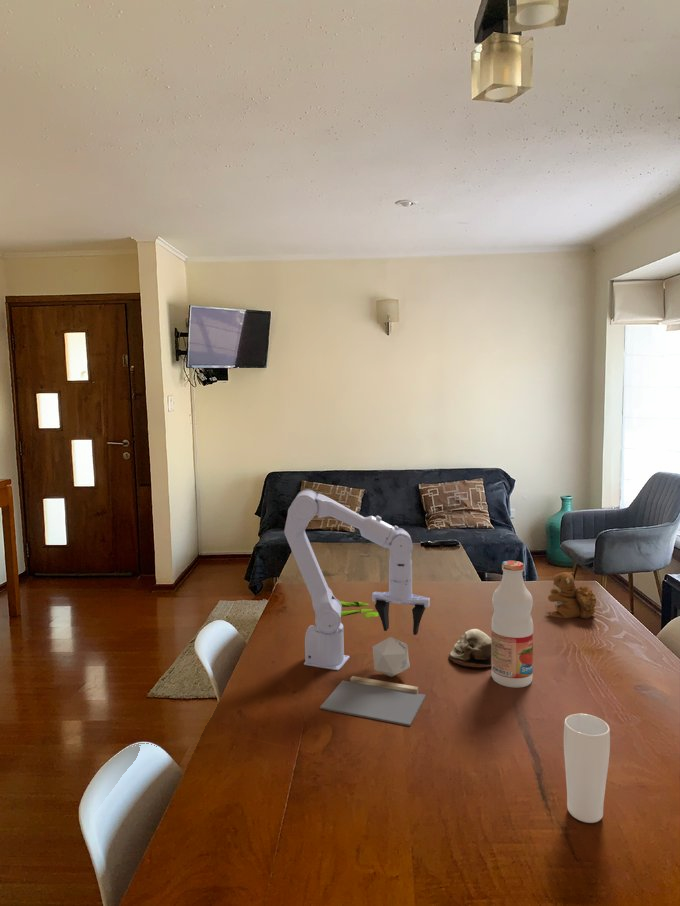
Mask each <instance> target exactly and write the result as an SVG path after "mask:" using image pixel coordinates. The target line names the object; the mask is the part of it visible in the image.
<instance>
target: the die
mask: <svg viewBox="0 0 680 906" xmlns="http://www.w3.org/2000/svg"><path fill="white" fill-rule="evenodd" d="M372 657H373V658H372V659H373V667H374V670H375V671H376V672H379V673H382V674H384V675H385V676H387V677H390V678H392V677H394V676H396V675H398V674H400V673H402V672H404V671H405V670H407V669H409V668H411V665H410V660H409V659H410V657H409V648H408V644H407V643H405V642H403V641H400V640H399V639H397V638H394V637H392V636H390V637H388V638H386V639H384V640H382V641H380V642H378V643H377V644H374V645H373V646H372Z"/></svg>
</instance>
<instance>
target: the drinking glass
mask: <svg viewBox="0 0 680 906" xmlns="http://www.w3.org/2000/svg"><path fill="white" fill-rule="evenodd" d="M610 732H611V731H610V725H609V724H608V723H607V722H606V721H605V720H603V719H601V718H600V717H598V716H595V715H593V714H588V713H574V714H570V715H567V716H566V717H565V719H564V727H563V755H564V767H565V768H564V770H565V780H566V781H565V783H566V795H567V796H566V798H567V799H566V808H567V810H568V813H569V814H570V815H571V816H572V817H573V818H575V820H578V821H580V822H582V823H586V824H587V823H588V824H594V823H598V822H600V821H601V820H602V818H603V816H604V802H605V795H606V794H605V793H606V786H607V785H606V784H607V778H608V777H607V776H608V772H609V771H608V770H609V763H610V762H609V761H610V751H611V747H610V746H611V743H610V742H611V733H610Z"/></svg>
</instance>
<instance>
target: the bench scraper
mask: <svg viewBox="0 0 680 906" xmlns="http://www.w3.org/2000/svg"><path fill="white" fill-rule="evenodd" d="M425 699H426V694H423V693H419V692H418V693H413V692H407V691H401V690H395V689H389V688H384V687H378V686H372V685H366V684H360V683H354V682H350V681H347V680H341V682H339V684H338V685H337V686H336V687H335V688H334V690H333V691H332V692H331V693H330V695H329V696H328V697H327V698H326V699H325V701H324V702H323V703H322V705H320V706H319V709H320V710H324V711H325V710H326V711H329V712H336V713H340V714H345V715H350V716H356V717H361V718H366V719H371V720H377V721H381V722H385V723H386V722H387V723H390V724H391V723H392V724H397V725H402V726H407V727H411V725H412V724H413V722H414V720H415V718H416V716H417V714H418V712H419V710H420V708H421V707H422V704H423V703H424V701H425Z"/></svg>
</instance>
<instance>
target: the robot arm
mask: <svg viewBox="0 0 680 906" xmlns="http://www.w3.org/2000/svg"><path fill="white" fill-rule="evenodd" d="M316 514H317V515H318V516H317V518H318V519H322V518H326V517H327V518H328V517H332V518H334V519H336V520H338V521H340V522H342V523H345V524H347V525H349V526H351V527H353V528H356V529H358V530H359V533H360V535H361V537H363V538H364V539H366V540H369V541H371V542H372V543H375V544H376V545H378V546H380V547H382V548H387V549H389V560H388V591H374V592H372V593H371V601H372V602H375V604H374V608H375V610H376V612H378V617H380V620H381V623H382V624H381V625H382V627H383V631H384V632H387V631H388V630H389V629H390V618H389V617H390V615H389V613H390V603H392V604H397V605H399V604H401V605H409V606H413V608H412V609H411V612H412V619H413V620H412V621H413V624H412V625H413V626H412V627H413V628H412V633H413V634H412V635H414V636H416V635H417V634H419V627H420V624H421V620H422V619H423V618H422V617H423V615H424V613H425V610H426V609H428V608H430V606H431V598H430V597H426V596H422V595H418V594H414V593H413V560H412V552H413V549H414V544H413V541H412V538H411V537H412V536H411V535H410V534H409V532H408V531H406V530H405V529H404V528H401V527H399V526H398V525H391V524H390V523H387V522H385V521H384V520H382V516H379V515H375V516H373V515H369V516H363V515H362V514H359V513H357V512H356V511H353V510H352V509H350V508H349V507H346V506H345V505H343V504H341V503H339V502H338V501H336V500H334V499H332V498H330V497H329V496H326V495H325V494H322V493H317V492H316V491H314V490H313V489H303V490H301V491H299V492H298V493H297V494H296V496H295V498H294V499H293V500H292V502H291V504H290V506H289V507H288V510H287V516H286V521H285V525H284V529H283V530H284V536H285V539H286V540H287V543H288V545H289V547H290V549H291V552H292V555H293V557H294V560H295V562H296V564H297V567H298V570H299V572H300V574H301V576H302V578H303V581H304V584H305V587H306V588H307V590H308V593H309V595H310V597H311V603H312V608H313V611H314V614H315V615H314V616H315V618H314V623H315V624H314V625H312V624H311V625H309V626H308V628H307V629H306V631H305V636H304V654H305V655H304V656H305V657H304V660H305V661H304V662H303V665H304V666H309V667H315V668H320V669H321V668H322V669H328V670H334V671H339V670H340V669H341V668H342V667H344V665H345V664H346V662H347V661H348V660H349V659H351V657H350V655H347V654H345V647H344V646H345V645H344V644H345V643H344V642H345V639H344V624H343V623H342V620H341V619H342V618H341V612H342V611H343V606H342V605H341V603H340V601H341V600H339V599H337V598H336V597H335V595H334V593H333V591H332V589H331V588H330V587H329V586H328V583H327V581H326V578H325V576H324V574H323V571H322V569H321V567H320V564H319V562H318V559H317V557H316V554H315V552H314V549H313V546H312V545H311V542H310V539H309V538H308V535H307V533H306V529H307V526H308V524H309V522H311V521H312V520H313V519H314V518H315V517H316Z"/></svg>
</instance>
